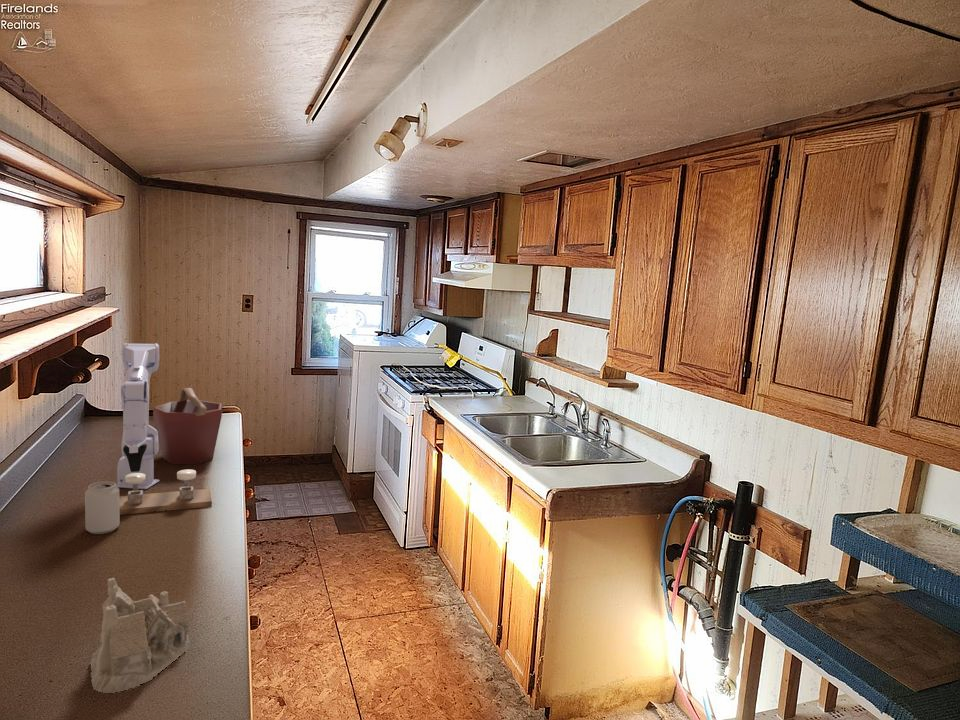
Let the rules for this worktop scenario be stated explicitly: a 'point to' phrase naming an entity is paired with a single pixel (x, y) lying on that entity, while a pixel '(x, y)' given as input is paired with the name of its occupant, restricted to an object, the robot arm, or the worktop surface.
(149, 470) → the robot arm
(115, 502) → the can
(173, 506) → the stand
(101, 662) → the ceramic cottage
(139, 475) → the plunger
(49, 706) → the worktop surface
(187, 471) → the plunger
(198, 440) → the bucket
